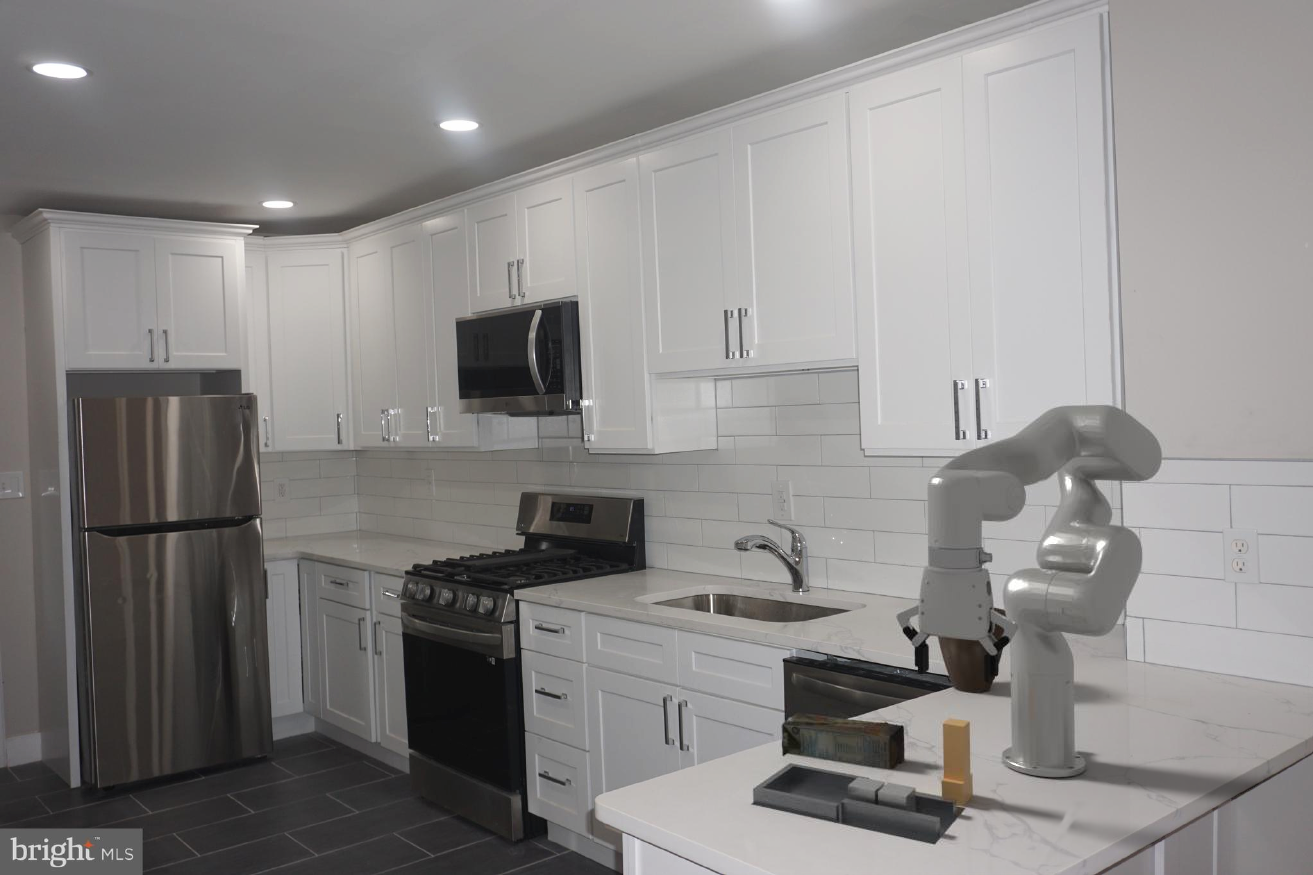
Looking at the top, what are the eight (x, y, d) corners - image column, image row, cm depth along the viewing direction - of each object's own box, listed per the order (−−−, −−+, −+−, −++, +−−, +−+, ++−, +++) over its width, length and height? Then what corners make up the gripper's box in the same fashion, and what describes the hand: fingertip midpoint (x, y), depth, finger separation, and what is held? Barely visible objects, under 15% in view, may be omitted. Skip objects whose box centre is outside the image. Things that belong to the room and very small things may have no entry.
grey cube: (888, 806, 143) (888, 782, 143) (915, 812, 141) (915, 787, 141) (878, 816, 140) (878, 791, 139) (906, 822, 137) (905, 796, 137)
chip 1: (858, 800, 145) (858, 776, 145) (885, 805, 143) (884, 781, 143) (848, 809, 142) (847, 785, 142) (875, 815, 140) (874, 790, 140)
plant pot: (947, 675, 217) (946, 602, 217) (1018, 684, 209) (1017, 608, 209) (924, 691, 205) (923, 613, 205) (998, 701, 197) (997, 620, 196)
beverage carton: (798, 744, 174) (797, 707, 174) (907, 761, 164) (906, 722, 164) (780, 758, 167) (779, 719, 167) (893, 777, 158) (892, 735, 157)
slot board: (792, 779, 157) (792, 761, 157) (965, 813, 142) (965, 793, 142) (751, 809, 145) (750, 790, 145) (934, 850, 130) (934, 828, 130)
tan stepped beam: (952, 796, 148) (951, 716, 148) (972, 800, 147) (971, 719, 147) (942, 807, 144) (940, 725, 144) (962, 811, 143) (961, 728, 142)
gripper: (1022, 559, 143) (1023, 678, 143) (905, 552, 152) (906, 664, 153) (1010, 566, 137) (1011, 690, 137) (888, 558, 146) (889, 674, 146)
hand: (956, 676), depth 145 cm, fingers open, 9 cm apart
